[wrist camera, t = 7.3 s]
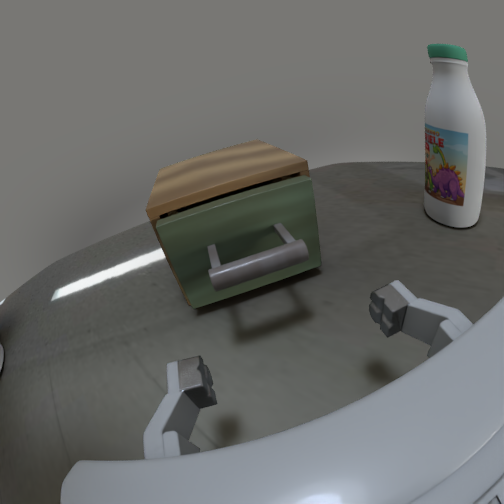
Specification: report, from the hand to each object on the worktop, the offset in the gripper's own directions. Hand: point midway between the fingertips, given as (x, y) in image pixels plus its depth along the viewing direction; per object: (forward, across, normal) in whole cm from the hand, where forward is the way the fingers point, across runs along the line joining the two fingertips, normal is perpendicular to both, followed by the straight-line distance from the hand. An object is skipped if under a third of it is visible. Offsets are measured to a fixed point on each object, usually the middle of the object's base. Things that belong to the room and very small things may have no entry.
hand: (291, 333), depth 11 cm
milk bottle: (+11, -25, +6) cm, 28 cm away
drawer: (+14, 0, +5) cm, 15 cm away
